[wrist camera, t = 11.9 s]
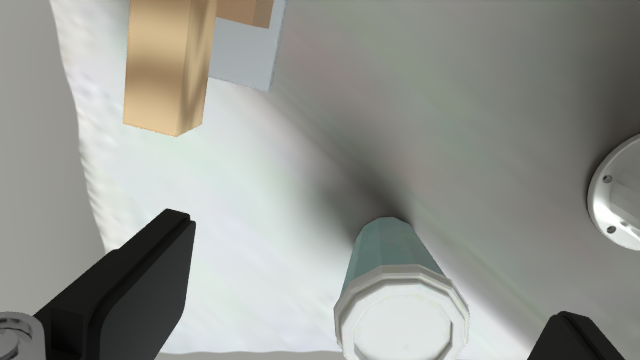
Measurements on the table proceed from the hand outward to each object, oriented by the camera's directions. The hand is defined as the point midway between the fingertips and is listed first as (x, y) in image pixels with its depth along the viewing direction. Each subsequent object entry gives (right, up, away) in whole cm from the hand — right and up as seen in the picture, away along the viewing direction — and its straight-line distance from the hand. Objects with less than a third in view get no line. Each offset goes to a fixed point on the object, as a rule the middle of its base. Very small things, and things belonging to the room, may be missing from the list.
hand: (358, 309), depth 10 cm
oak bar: (-11, +18, +20) cm, 29 cm away
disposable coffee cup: (+7, -4, +33) cm, 34 cm away
